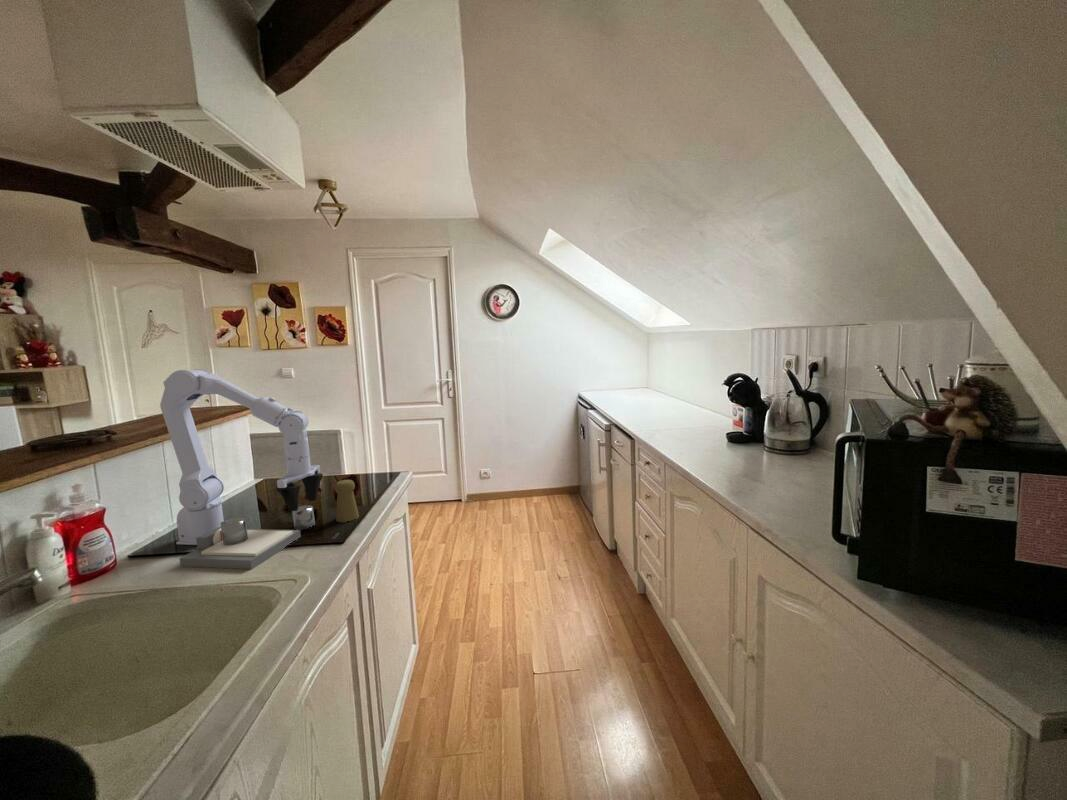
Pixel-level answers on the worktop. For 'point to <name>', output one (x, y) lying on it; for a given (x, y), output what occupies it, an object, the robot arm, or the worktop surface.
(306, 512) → the cylinder
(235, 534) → the cylinder
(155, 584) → the worktop surface
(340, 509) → the cork
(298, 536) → the kitchen scale
